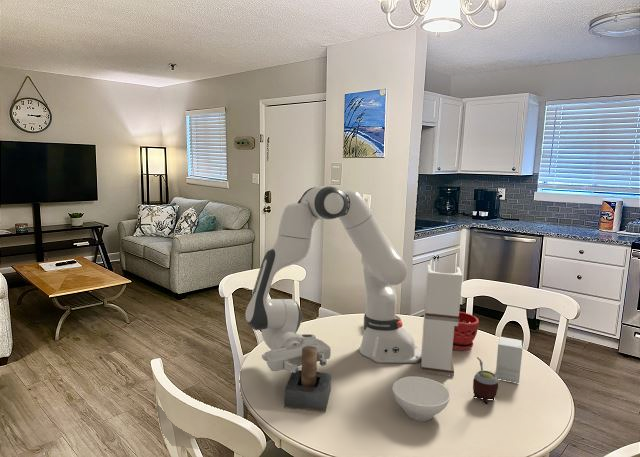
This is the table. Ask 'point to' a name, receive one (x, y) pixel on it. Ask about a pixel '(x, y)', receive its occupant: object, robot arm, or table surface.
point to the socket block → (308, 393)
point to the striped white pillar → (440, 321)
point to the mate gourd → (485, 384)
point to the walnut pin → (309, 366)
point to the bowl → (420, 397)
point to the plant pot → (465, 331)
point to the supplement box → (509, 359)
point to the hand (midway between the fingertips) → (310, 366)
